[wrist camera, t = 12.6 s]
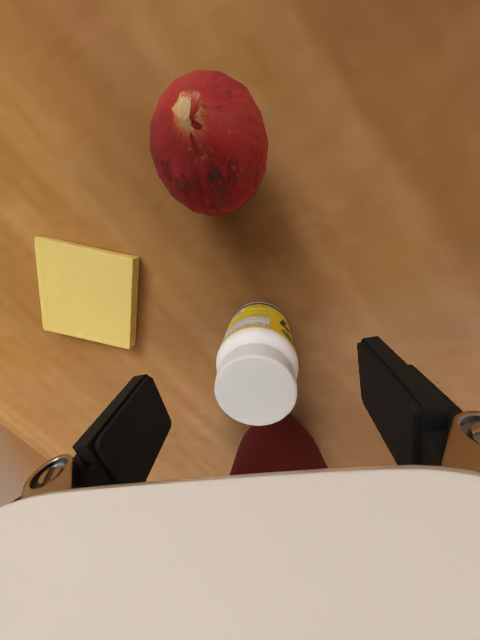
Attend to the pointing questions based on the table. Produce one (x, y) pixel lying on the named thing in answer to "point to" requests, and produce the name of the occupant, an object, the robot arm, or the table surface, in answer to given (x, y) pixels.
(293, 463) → the mug
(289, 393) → the supplement bottle
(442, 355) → the table surface
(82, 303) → the sticky note pad
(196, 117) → the onion
